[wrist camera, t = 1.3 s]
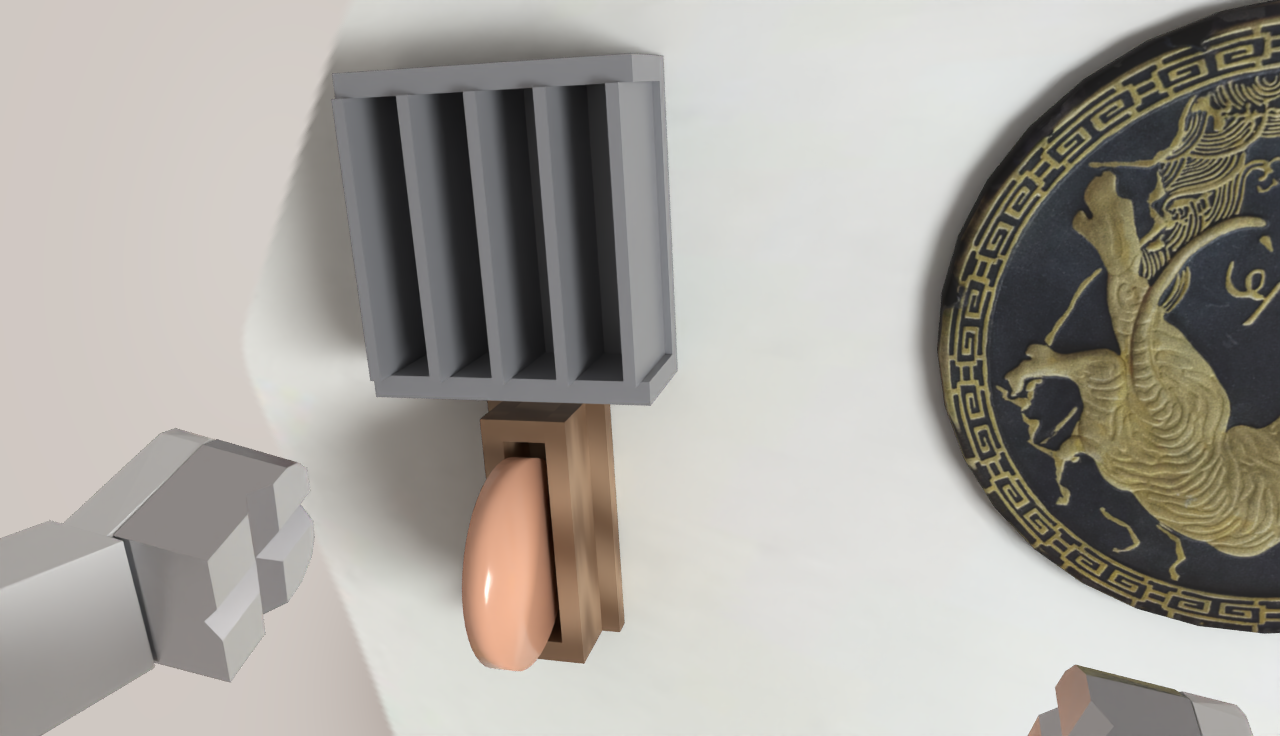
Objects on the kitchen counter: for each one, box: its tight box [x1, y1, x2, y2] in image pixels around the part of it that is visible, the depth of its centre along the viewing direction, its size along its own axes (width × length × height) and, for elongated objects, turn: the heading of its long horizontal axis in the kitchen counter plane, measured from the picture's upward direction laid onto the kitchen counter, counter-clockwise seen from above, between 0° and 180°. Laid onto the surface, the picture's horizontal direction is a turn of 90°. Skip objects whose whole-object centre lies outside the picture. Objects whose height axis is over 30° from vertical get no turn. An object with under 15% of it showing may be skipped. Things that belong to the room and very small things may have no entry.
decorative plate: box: [937, 0, 1280, 633], centre depth 44 cm, size 30×2×30 cm
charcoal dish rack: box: [331, 53, 678, 406], centre depth 49 cm, size 16×15×7 cm
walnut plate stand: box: [480, 400, 624, 664], centre depth 55 cm, size 14×7×4 cm, turn 3°
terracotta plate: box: [462, 457, 559, 671], centre depth 51 cm, size 11×1×11 cm, turn 3°
